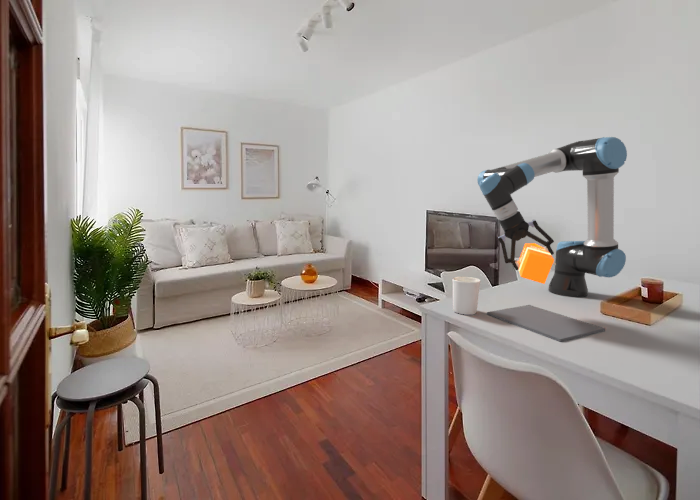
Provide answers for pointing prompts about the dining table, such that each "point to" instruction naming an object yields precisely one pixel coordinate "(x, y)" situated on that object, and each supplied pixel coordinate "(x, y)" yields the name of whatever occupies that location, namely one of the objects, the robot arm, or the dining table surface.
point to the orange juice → (535, 263)
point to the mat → (546, 322)
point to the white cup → (465, 295)
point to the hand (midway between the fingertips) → (539, 270)
